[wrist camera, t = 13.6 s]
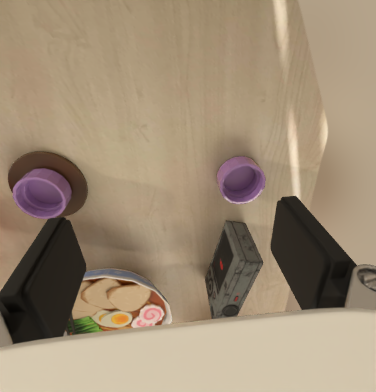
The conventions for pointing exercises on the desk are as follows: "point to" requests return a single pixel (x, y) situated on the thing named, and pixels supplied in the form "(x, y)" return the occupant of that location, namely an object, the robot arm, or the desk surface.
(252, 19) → the desk surface
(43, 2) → the desk surface
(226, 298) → the camera
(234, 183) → the dish
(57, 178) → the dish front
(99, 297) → the ramen bowl
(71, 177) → the coaster
